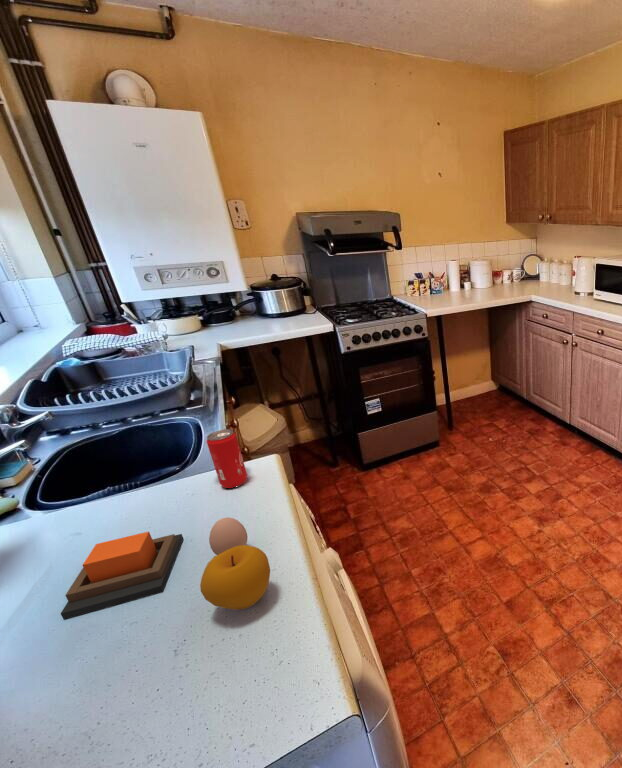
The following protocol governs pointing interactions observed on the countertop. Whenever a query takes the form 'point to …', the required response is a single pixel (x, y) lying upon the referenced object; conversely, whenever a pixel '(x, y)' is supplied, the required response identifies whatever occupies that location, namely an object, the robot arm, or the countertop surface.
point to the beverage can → (227, 458)
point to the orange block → (120, 557)
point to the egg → (227, 535)
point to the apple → (236, 578)
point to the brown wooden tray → (123, 582)
